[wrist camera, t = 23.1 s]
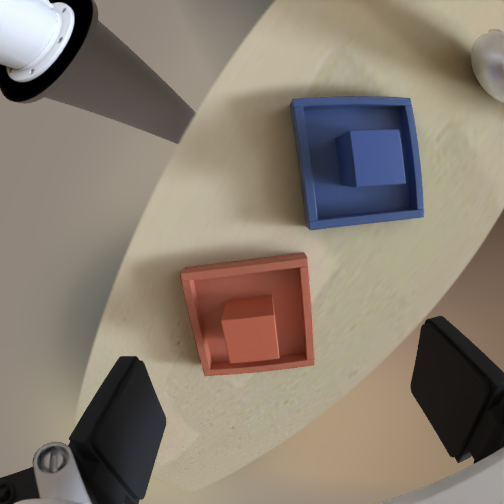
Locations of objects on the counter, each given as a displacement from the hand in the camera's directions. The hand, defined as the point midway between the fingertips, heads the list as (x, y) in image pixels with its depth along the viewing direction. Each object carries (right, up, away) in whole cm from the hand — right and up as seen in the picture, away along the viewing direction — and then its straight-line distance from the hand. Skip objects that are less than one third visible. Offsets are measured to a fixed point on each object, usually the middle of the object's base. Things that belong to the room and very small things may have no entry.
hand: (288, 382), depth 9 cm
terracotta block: (-1, -2, +20) cm, 21 cm away
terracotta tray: (-1, -2, +21) cm, 21 cm away
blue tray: (+9, +13, +17) cm, 23 cm away
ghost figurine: (+27, +26, +14) cm, 40 cm away
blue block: (+9, +13, +17) cm, 23 cm away
